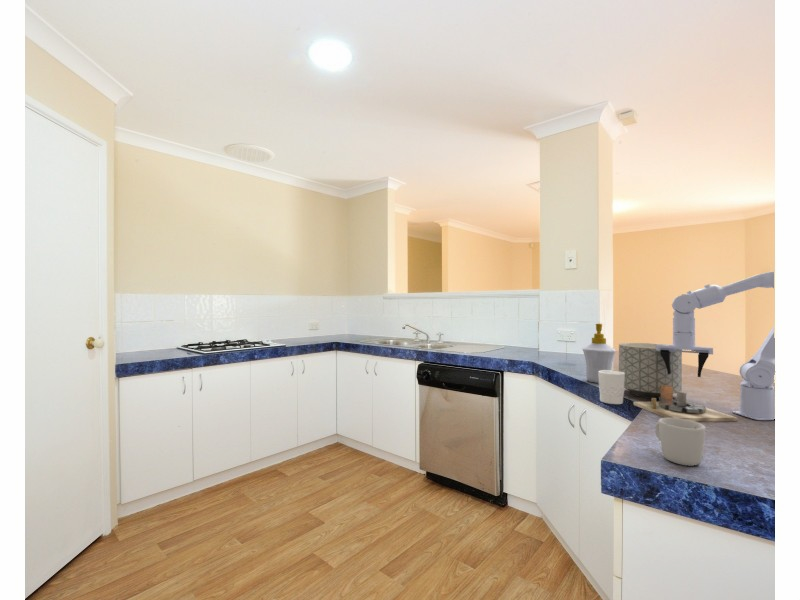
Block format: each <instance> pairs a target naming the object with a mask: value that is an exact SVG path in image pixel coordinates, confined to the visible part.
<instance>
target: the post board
mask: <svg viewBox="0 0 800 600" xmlns="http://www.w3.org/2000/svg"><path fill="white" fill-rule="evenodd" d="M676 400H677V405H678V406H686V402H688V401H687V392H684V391H682V392H677V393H676ZM633 406H635V407H638V408H641V409H643V410H645V411H648V412H650V413H654V414H656V415H658V416H660V417H662V418H680V419H686V420H691V421H695V422H737V421H738V417H736V416H733V415H731V414H727V413H724V412H720V411H717V410H714V409H712V408H708V407H705V408H706V411H705V412H703V413H701V412H699V413H687V412H685V411H683V412H679V411H674V410H669V409H666V408H663V407H661V406H659V401H657V399H656V398H651V401H633Z"/></svg>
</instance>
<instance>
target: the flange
mask: <svg viewBox="0 0 800 600" xmlns="http://www.w3.org/2000/svg"><path fill="white" fill-rule="evenodd" d="M673 396H674V394H673V387H672V386H669V385H661V397H659V399H658V402H659V406H661V407H663V408H666V409H669V410H674V411H679V412H683V411H685V412H687V413H699V412H701V413H703V412H705V411H706V408H707V407H706V406H705V405H702V404H699V403H695V402H692V401H687V402H686V406H678V405H677V399H674V397H673Z"/></svg>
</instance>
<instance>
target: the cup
mask: <svg viewBox="0 0 800 600" xmlns="http://www.w3.org/2000/svg"><path fill="white" fill-rule="evenodd" d="M706 428H707V427H706V425H704V424H702V423H700V422H699V421H691V420H686V419H680V418H665V417H661V418H659V419H658V421H656V423H655V427H654V431H655V435H656V438H657V440H658V441H659V442H660V446H661V452H662V455H663V456H664V458H665V459H666V460H668V461H670V462H672V463H674V464H677V465H681V466H687V465H688V466H690V467H692V466H694V465H695V466H698V465H700V464H701V462H702V459H703V453H704V447H705V441H706V440H705V439H706V438H705V437H706V430H707V429H706Z"/></svg>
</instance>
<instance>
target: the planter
mask: <svg viewBox="0 0 800 600" xmlns="http://www.w3.org/2000/svg"><path fill="white" fill-rule="evenodd" d="M656 345H666V344H663V343H653V342H652V343H650V342H649V343H648V342H621V343H619V344H618V371H620V372H624V373H625V382H624V389H626V390H627V391H629V392H630V393H632V394H633V395H635V396H637V395H638V396H637V397H640V396H641V398H645V397H647V399H652V398H656V400H657V399H658V398H659V397H661V385H669V386H672V387H673V395H674V394H677V392H683V389H682V388H683V386H682V385H683V379H682V377H683V375H682V373H683V367H682V366H683V365H682V364H683V356H682V355H683V352H672V351H671V355H670V365H671V374H668V372H667V368H666V365H665V362H664V360H663V358H662V356H661V354H660V351H656ZM677 350H682V349H677ZM682 351H683V350H682ZM658 400H659V399H658Z"/></svg>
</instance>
